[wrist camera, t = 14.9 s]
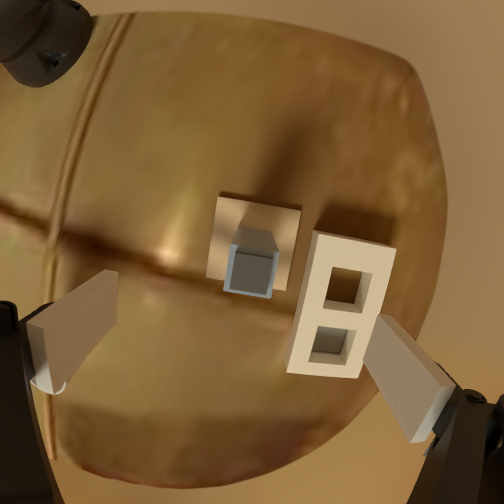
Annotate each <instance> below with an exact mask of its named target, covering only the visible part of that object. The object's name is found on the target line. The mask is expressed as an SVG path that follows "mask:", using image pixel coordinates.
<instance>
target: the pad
mask: <svg viewBox="0 0 504 504" xmlns="http://www.w3.org/2000/svg"><path fill="white" fill-rule="evenodd" d="M300 214H301V211H299V210H294V209H288V208H283V207H277V206H272V205H266V204H260V203H255V202H249V201H243V200H237V199H231V198H225V197H218V200H217V206H216V212H215V218H214V225H213V231H212V238H211V244H210V251H209V258H208V265H207V272H206V277H207V278H212V279H218V280H224V281H225V276H226V270H227V263H228V257H229V251H230V245H231V242H232V239H233V237H234V235H235V233H236V230H237V228H238V226H240V227H246V228H252V229H258V230H264V231H269V232H272V235H273V237H274V239H275V242H276V244H277V247H278V249H279V252H280V253H279V258H278V264H277V269H276V274H275V279H274V284H273V289H278V290H284V291H285V290H286V285H287V280H288V276H289V271H290V266H291V261H292V256H293V251H294V246H295V241H296V235H297V230H298V225H299V220H300Z"/></svg>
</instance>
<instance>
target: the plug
mask: <svg viewBox="0 0 504 504" xmlns="http://www.w3.org/2000/svg"><path fill="white" fill-rule="evenodd" d="M279 253H280V252H279V249H278V247H277V244H276V242H275V239H274V237H273V235H272V232H269V231H264V230H258V229H252V228H246V227H240V226H238V228H237V230H236V233H235V235H234V237H233V239H232V242H231V245H230V251H229V257H228V263H227V270H226V276H225V283H224V289H223V291H228V292H234V293H240V294H246V295H252V296H258V297H264V298H270V299H271V294H272V289H273V284H274V279H275V274H276V269H277V264H278V258H279Z"/></svg>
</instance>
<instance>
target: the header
mask: <svg viewBox="0 0 504 504" xmlns="http://www.w3.org/2000/svg"><path fill="white" fill-rule="evenodd" d="M395 253H396V249H395V248H393V247H391V246H389V245H387V244H383V243H378V242H373V241H368V240H363V239H358V238H353V237H348V236H343V235H338V234H333V233H327V232H322V231H317V230H313V233H312V238H311V243H310V248H309V253H308V258H307V263H306V267H305V272H304V277H303V281H302V286H301V290H300V295H299V299H298V304H297V308H296V312H295V317H294V321H293V325H292V329H291V333H290V338H289V342H288V346H287V350H286V354H285V358H284V361H285V367H286V372H289V373H298V374H308V375H319V376H331V377H345V378H358V376H359V373H360V370H361V368H362V365H363V357H364V354H365V351H366V348H367V345H368V343H369V340H370V337H371V334H372V331H373V327H374V324H375V321H376V318H377V315H378V314H379V313H380V310H381V307H382V303H383V300H384V296H385V293H386V289H387V285H388V281H389V278H390V274H391V270H392V266H393V262H394V258H395ZM332 267H339V268H345V269H351V270H357V271H362V275H361V279H360V283H359V287H358V290H357V294H356V298H355V302H354V304H351V303H344V302H337V301H330V300H325V297H326V293H327V288H328V284H329V280H330V276H331V271H332Z"/></svg>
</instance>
